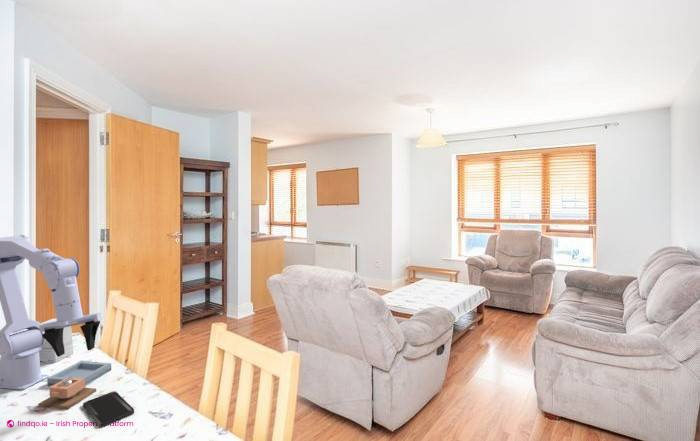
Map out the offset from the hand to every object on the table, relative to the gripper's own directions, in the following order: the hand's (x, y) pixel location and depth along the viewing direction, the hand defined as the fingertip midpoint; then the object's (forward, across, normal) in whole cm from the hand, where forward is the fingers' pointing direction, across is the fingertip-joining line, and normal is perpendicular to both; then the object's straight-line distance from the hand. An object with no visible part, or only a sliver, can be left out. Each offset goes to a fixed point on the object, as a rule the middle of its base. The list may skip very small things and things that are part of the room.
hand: (76, 352), depth 101 cm
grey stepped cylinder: (+12, -5, +1) cm, 13 cm away
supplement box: (+7, -24, +30) cm, 40 cm away
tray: (+11, -8, +14) cm, 19 cm away
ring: (+10, -4, +1) cm, 11 cm away
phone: (+16, +8, -6) cm, 19 cm away
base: (+12, -5, +1) cm, 13 cm away
